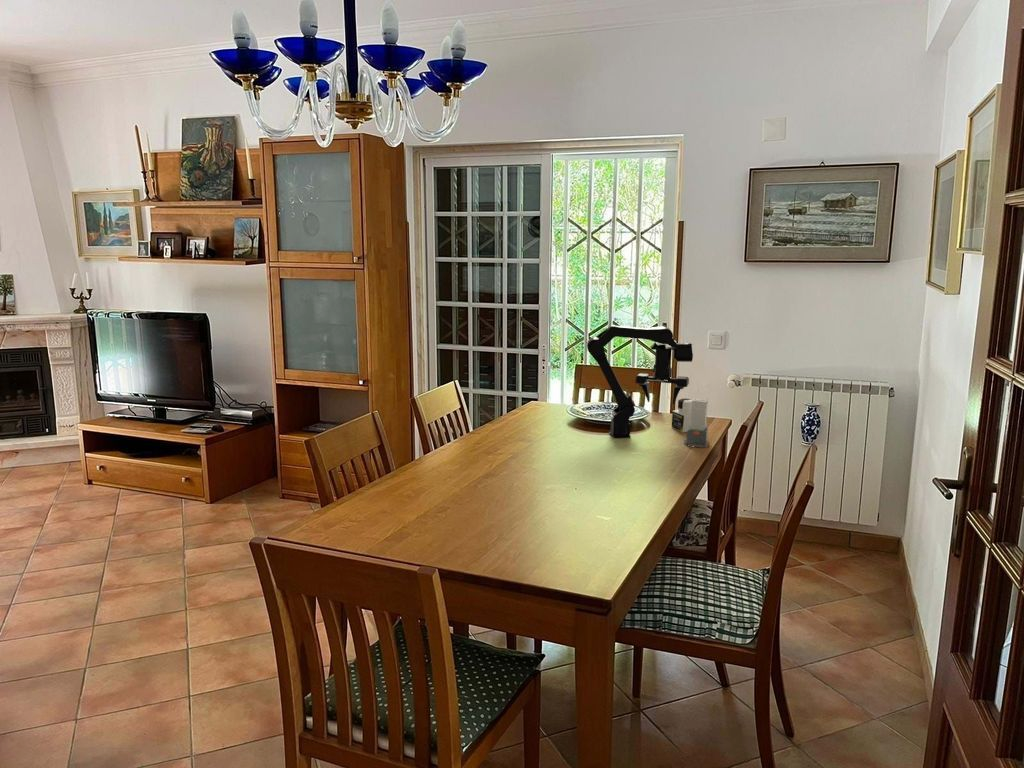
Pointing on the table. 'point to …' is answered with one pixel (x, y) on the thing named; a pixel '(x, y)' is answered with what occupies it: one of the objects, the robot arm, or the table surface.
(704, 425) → the column
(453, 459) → the table surface
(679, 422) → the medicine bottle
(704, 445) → the base
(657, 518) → the table surface
